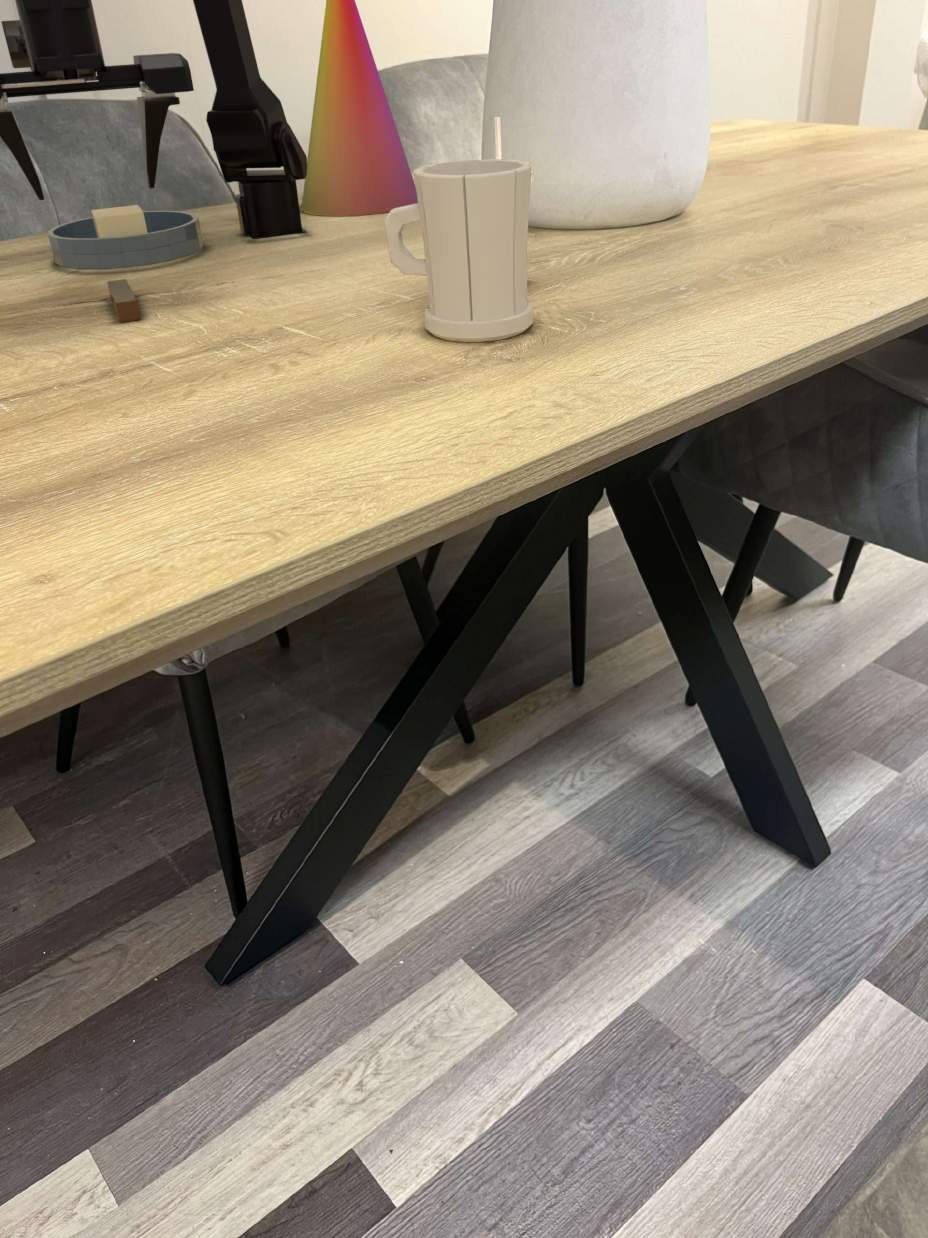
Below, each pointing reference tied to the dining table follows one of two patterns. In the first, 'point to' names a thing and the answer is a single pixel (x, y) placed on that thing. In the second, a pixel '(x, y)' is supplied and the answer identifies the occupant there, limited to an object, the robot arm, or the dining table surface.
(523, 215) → the cup
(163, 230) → the bowl
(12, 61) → the robot arm
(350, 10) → the decorative cone
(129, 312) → the stick
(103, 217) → the block
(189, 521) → the dining table surface
